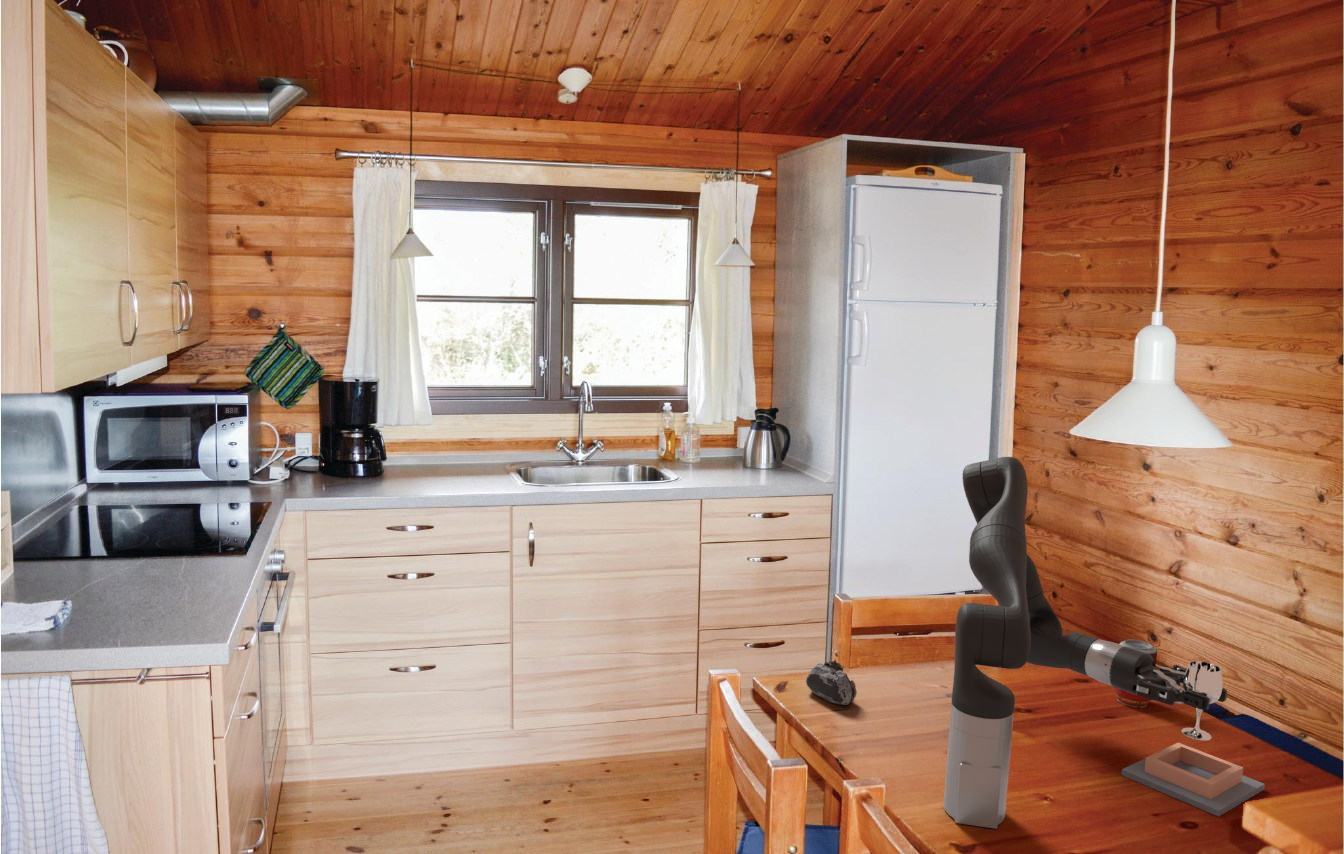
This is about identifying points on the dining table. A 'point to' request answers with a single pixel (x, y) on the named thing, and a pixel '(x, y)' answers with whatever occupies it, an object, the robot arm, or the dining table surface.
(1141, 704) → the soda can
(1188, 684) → the wineglass
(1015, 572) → the robot arm
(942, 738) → the dining table surface
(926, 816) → the dining table surface
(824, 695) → the dark grey rock
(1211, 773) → the glass holder
